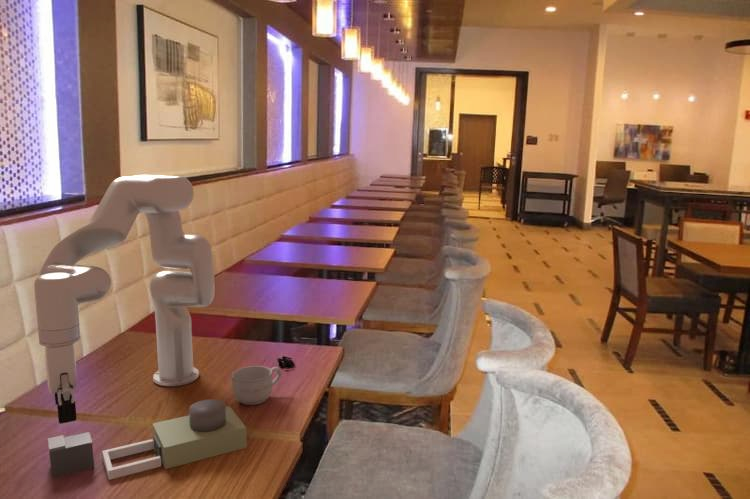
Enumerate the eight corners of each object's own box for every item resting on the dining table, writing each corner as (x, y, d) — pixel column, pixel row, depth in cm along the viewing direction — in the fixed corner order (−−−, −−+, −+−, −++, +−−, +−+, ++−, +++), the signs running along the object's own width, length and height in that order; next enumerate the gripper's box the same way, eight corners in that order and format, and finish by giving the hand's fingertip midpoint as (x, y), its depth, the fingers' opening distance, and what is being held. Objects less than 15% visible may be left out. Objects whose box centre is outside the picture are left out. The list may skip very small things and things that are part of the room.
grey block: (50, 466, 129) (47, 438, 128) (91, 456, 133) (89, 429, 132) (52, 478, 125) (49, 449, 124) (94, 467, 129) (91, 439, 128)
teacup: (238, 412, 155) (237, 383, 153) (227, 395, 164) (226, 368, 162) (289, 402, 161) (289, 374, 159) (276, 386, 170) (276, 359, 169)
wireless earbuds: (294, 366, 182) (278, 361, 181) (291, 373, 182) (275, 369, 181) (294, 357, 188) (278, 353, 187) (291, 364, 189) (275, 360, 188)
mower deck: (101, 455, 134) (98, 418, 132) (230, 425, 148) (229, 390, 146) (109, 483, 124) (106, 443, 122) (246, 447, 138) (245, 411, 136)
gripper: (36, 324, 128) (43, 400, 132) (40, 350, 114) (47, 434, 117) (76, 319, 132) (81, 393, 135) (84, 343, 118) (90, 425, 121)
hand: (65, 412), depth 126 cm, fingers open, 9 cm apart
